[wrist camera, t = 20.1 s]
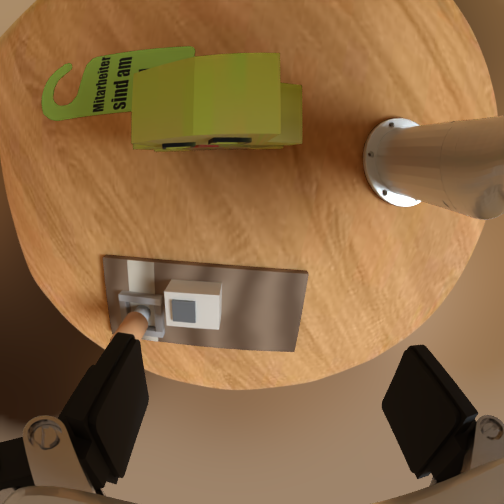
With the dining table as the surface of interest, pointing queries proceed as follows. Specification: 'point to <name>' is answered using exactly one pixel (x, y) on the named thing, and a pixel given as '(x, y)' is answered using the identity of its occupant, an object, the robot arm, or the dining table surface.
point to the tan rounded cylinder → (135, 322)
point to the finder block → (193, 304)
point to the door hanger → (108, 82)
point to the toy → (215, 104)
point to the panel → (232, 308)
